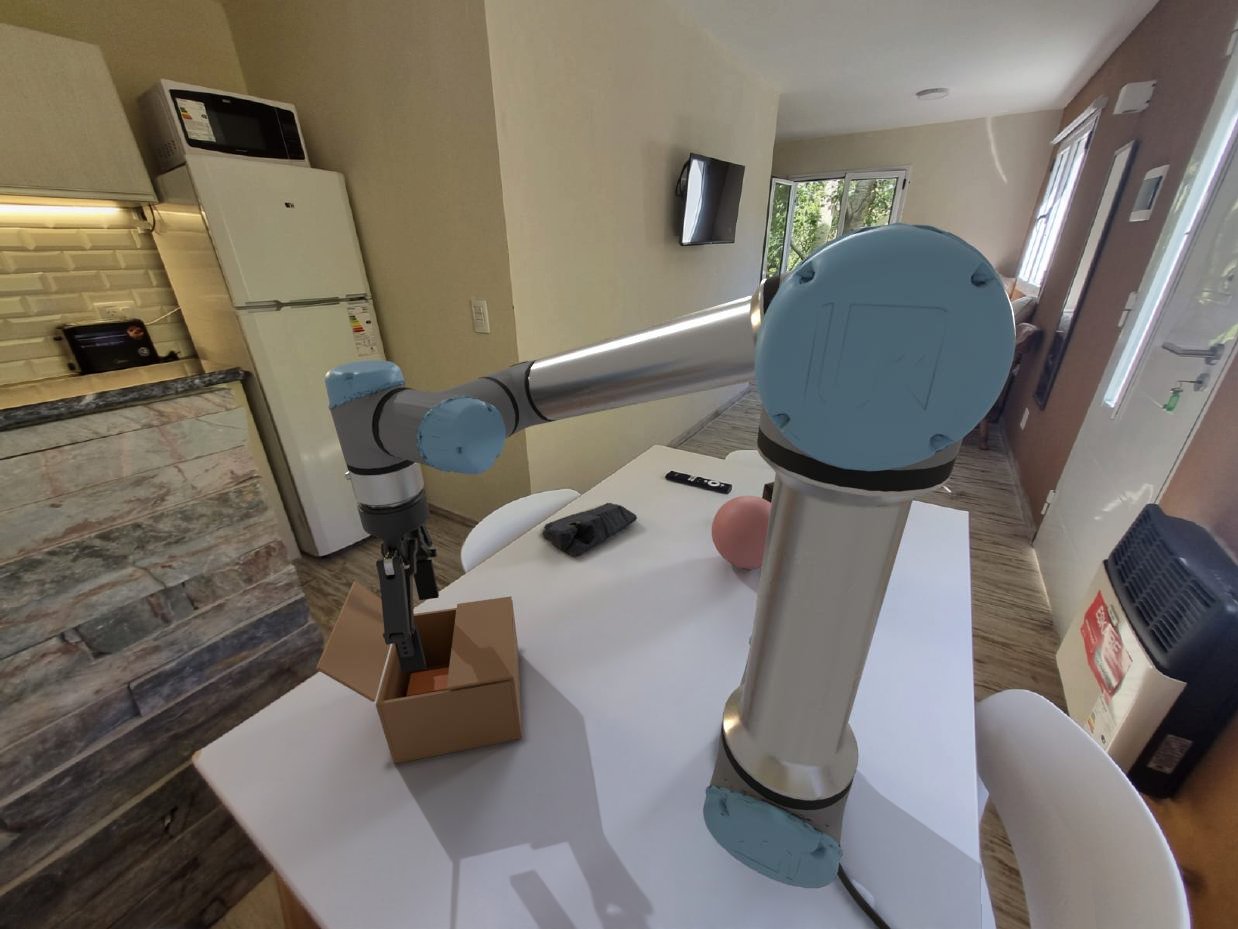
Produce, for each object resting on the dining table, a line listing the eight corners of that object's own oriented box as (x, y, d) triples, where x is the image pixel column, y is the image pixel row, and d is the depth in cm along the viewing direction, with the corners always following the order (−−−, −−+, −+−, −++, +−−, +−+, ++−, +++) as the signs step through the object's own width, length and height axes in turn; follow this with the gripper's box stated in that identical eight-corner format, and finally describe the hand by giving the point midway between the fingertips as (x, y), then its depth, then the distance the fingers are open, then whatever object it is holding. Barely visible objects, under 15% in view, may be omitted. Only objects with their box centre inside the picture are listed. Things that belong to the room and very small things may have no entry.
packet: (462, 710, 71) (457, 687, 69) (412, 719, 70) (406, 695, 68) (464, 688, 75) (459, 665, 73) (416, 696, 73) (410, 673, 71)
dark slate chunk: (646, 528, 117) (647, 511, 115) (571, 562, 105) (570, 543, 103) (608, 503, 128) (608, 487, 126) (536, 531, 116) (534, 514, 114)
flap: (317, 667, 55) (315, 669, 55) (375, 700, 59) (372, 702, 59) (355, 580, 69) (353, 582, 69) (399, 612, 73) (397, 613, 73)
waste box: (521, 738, 68) (513, 676, 62) (393, 764, 64) (373, 700, 59) (518, 652, 82) (511, 595, 77) (413, 669, 79) (398, 611, 73)
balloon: (812, 566, 103) (826, 505, 97) (737, 592, 96) (746, 527, 89) (765, 530, 116) (774, 474, 110) (695, 550, 109) (700, 491, 102)
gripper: (380, 455, 67) (409, 577, 76) (321, 559, 45) (371, 713, 54) (436, 450, 69) (458, 570, 78) (405, 549, 47) (440, 701, 56)
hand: (422, 630), depth 66 cm, fingers open, 13 cm apart
